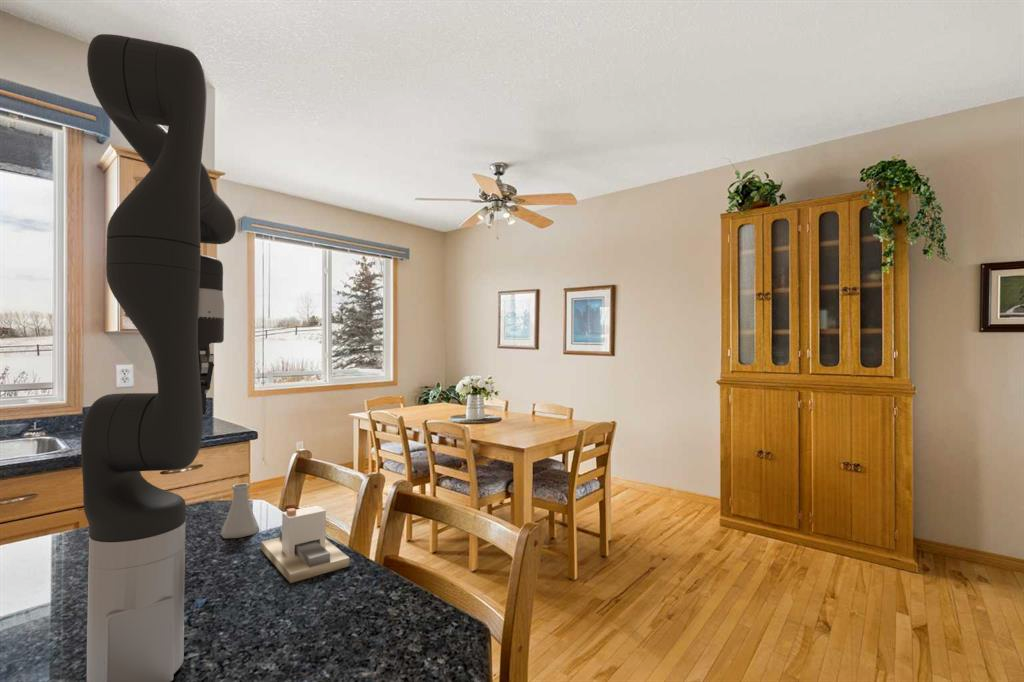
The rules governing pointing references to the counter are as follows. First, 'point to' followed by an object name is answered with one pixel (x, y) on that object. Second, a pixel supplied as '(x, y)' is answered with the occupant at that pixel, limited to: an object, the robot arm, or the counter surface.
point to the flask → (240, 515)
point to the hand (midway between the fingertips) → (197, 414)
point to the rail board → (297, 565)
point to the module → (302, 527)
